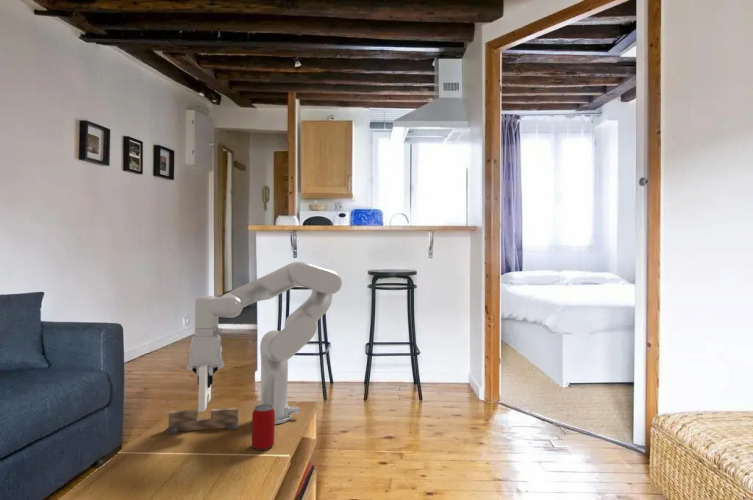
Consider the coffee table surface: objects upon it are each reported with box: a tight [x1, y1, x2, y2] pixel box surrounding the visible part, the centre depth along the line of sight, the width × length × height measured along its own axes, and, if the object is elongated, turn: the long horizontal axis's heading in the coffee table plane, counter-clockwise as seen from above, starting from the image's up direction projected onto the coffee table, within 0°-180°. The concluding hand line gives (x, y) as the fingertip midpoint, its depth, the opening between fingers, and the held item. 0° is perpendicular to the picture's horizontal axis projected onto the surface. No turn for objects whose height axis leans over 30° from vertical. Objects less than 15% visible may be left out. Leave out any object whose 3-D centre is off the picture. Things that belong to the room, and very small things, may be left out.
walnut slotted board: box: [166, 407, 239, 435], centre depth 150 cm, size 22×6×6 cm, turn 103°
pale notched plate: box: [197, 365, 212, 413], centre depth 151 cm, size 2×14×14 cm, turn 13°
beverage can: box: [251, 404, 276, 451], centre depth 136 cm, size 7×7×12 cm
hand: (205, 386), depth 151 cm, fingers closed on pale notched plate, 2 cm apart
